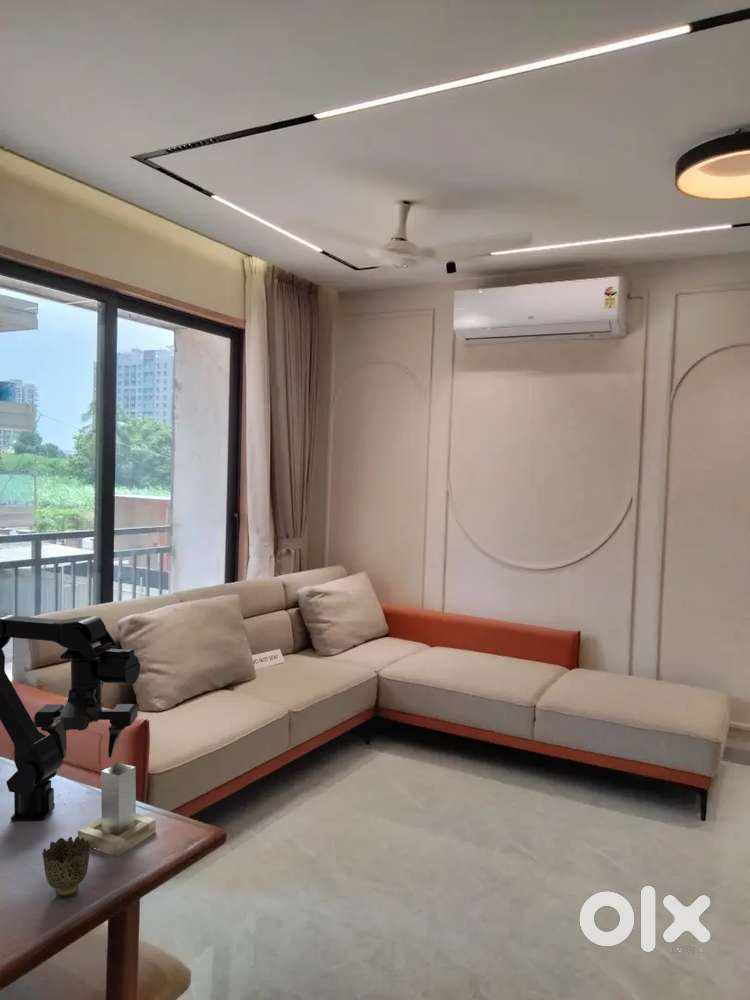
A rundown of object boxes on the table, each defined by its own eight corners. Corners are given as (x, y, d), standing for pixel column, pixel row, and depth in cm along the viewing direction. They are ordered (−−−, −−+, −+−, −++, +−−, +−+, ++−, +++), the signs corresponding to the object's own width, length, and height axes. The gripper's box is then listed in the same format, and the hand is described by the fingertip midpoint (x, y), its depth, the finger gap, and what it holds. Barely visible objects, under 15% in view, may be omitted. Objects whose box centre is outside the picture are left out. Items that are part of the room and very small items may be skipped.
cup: (73, 909, 119) (72, 861, 118) (33, 903, 120) (32, 856, 120) (99, 883, 126) (99, 838, 125) (61, 877, 127) (60, 833, 127)
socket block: (78, 845, 139) (77, 830, 139) (117, 822, 148) (117, 808, 148) (117, 858, 134) (117, 843, 134) (155, 834, 143) (155, 819, 143)
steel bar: (101, 837, 140) (101, 771, 139) (118, 827, 144) (118, 762, 143) (119, 842, 138) (118, 775, 137) (135, 832, 142) (135, 766, 141)
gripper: (21, 693, 137) (22, 775, 138) (122, 693, 138) (122, 774, 139) (44, 676, 149) (45, 751, 149) (138, 676, 150) (138, 750, 150)
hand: (87, 757), depth 147 cm, fingers open, 9 cm apart
